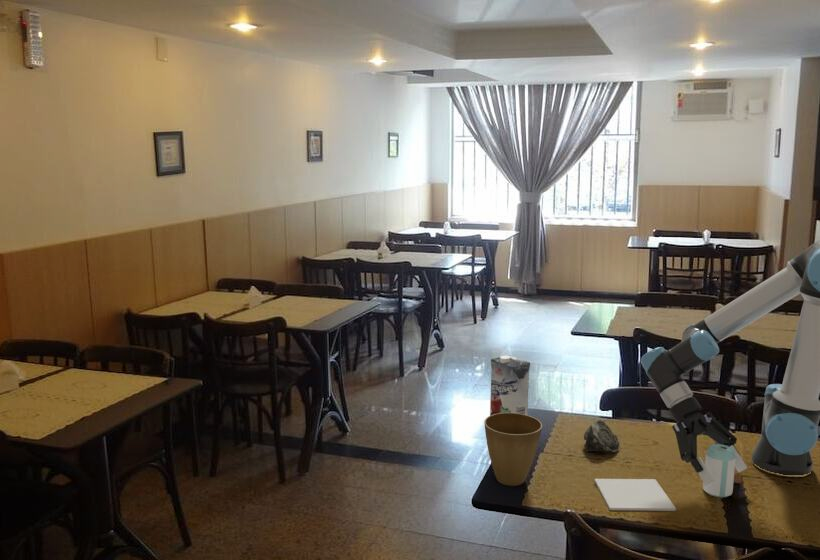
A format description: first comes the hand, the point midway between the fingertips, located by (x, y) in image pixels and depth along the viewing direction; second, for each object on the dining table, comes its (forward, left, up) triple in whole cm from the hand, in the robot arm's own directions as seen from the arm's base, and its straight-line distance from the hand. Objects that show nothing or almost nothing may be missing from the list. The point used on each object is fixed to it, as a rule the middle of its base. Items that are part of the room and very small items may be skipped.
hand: (727, 476), depth 191 cm
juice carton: (+51, -32, -5) cm, 61 cm away
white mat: (+23, 0, -5) cm, 24 cm away
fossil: (+24, -29, -6) cm, 38 cm away
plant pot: (+53, -8, -5) cm, 54 cm away
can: (+1, -2, -5) cm, 6 cm away
